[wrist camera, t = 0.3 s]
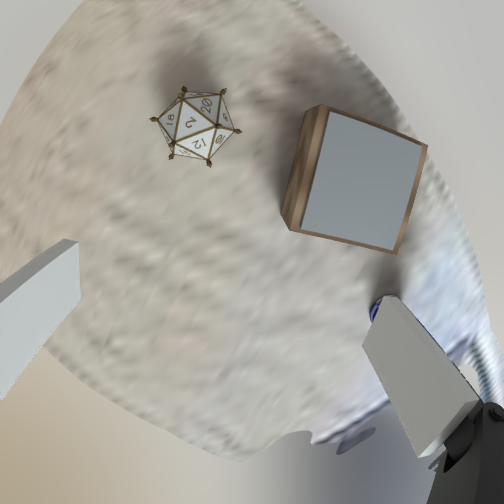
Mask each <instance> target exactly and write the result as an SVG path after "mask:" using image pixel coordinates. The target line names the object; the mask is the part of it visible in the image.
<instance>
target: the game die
mask: <svg viewBox="0 0 504 504" xmlns="http://www.w3.org/2000/svg"><path fill="white" fill-rule="evenodd" d="M226 89H227V88H225V89H222V90H221V91H220V94H216V93H203V92H187V89H186V87H184V86H183V87H182V92H184V93H183V94H181V93H179V95H178V98H177V99H176V100H175V101H174V102H173V103H172V104H171V105H170V106H169V107H168V108H167V109H166V110H165V111H164V112H163V113H162V114H161V115H160V117H159V118H156V117H152V118H150V120H151V121H152V122H153V121H154V122H155V121H157V122H158V124H159V126H160V128H161V130H162V132H163V134H164V137H165V139H166V141H167V143H168V145H169V147H170V149H171V151H172V154H170V155H169V160H170V159H173V157H174V155H180V156H186V157H192V158H197V159H203V160H206V161H207V165H208V166H209V167H210V168H211V165H212V163H211V161H210V158H211V157H212V156H213V155H214V153H215V152H216V151H217V150H218V149H219V148H220V147H221V146H222V144H223V143H224V142H225V141H226V140H227V139H228V138H229V137H230V136H231V135H232V133H233V132H235V133H238V134H239V133H242V131H241V130H240V129H234V127H233V124H232V121H231V119H230V116H229V113H228V111H227V108H226V105H225V102H224V100H223V97H222V95H223V94H225V93H226Z"/></svg>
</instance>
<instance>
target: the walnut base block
mask: <svg viewBox="0 0 504 504" xmlns="http://www.w3.org/2000/svg"><path fill="white" fill-rule="evenodd" d="M427 148H428V145H426V144H424V143H422V142H419V141H417V140H415V139H413V138H411V137H408V136H406V135H404V134H401V133H399V132H397V131H394V130H392V129H389V128H387V127H384V126H382V125H379V124H377V123H374V122H371V121H369V120H366V119H363V118H361V117H358V116H355V115H352V114H349V113H346V112H343V111H340V110H337V109H334V108H331V107H328V106H325V105H321V104H320V105H318V106H316V107H313V108H311V109H309V110H307V111H305V115H304V120H303V124H302V128H301V132H300V137H299V141H298V145H297V149H296V154H295V158H294V162H293V166H292V170H291V174H290V178H289V183H288V187H287V191H286V195H285V199H284V203H283V207H282V211H281V216H282V218H283V220H284V222H285V223H286V225H287V227H288V229H289V231H294V232H299V233H303V234H308V235H312V236H317V237H322V238H326V239H331V240H335V241H339V242H344V243H348V244H353V245H357V246H361V247H366V248H370V249H374V250H378V251H383V252H387V253H391V254H395V255H397V253H398V250H399V247H400V244H401V241H402V238H403V235H404V232H405V229H406V226H407V223H408V220H409V216H410V213H411V210H412V207H413V203H414V200H415V196H416V193H417V189H418V185H419V181H420V178H421V174H422V170H423V165H424V161H425V157H426V153H427Z"/></svg>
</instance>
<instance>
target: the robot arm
mask: <svg viewBox="0 0 504 504" xmlns="http://www.w3.org/2000/svg"><path fill="white" fill-rule="evenodd" d="M80 300H81V292H80V276H79V242H77V241H73V240H68V239H63V240H61V241H60V242H58V243H57V244H55V245H54V246H52V247H51V248H49V249H48V250H46V251H45V252H43V253H42V254H41V255H39V256H38V257H36V258H35V259H33V260H32V261H30V262H29V263H28V264H26V265H25V266H24V267H22V268H21V269H19V270H18V271H17V272H15V273H14V274H13V275H11V276H10V277H9V278H7V279H6V280H5V281H3V282H2V283H1V284H0V400H1V401H2V400H3V399H4V397H5V396H6V395H7V393H8V391H9V390H10V389H11V387H12V386H13V384H14V383H15V382H16V380H17V379H18V377H19V376H20V374H21V373H22V372H23V371H24V369H25V368H26V366H27V365H28V364H29V363H30V361H31V360H32V359H33V357H34V356H35V354H36V353H37V352H38V351H39V349H40V348H41V347H42V346H43V344H44V343H45V342H46V341H47V339H48V338H49V337H50V336H51V334H52V333H53V332H54V331H55V329H56V328H57V327H58V326H59V325H60V323H61V322H62V321H63V320H64V319H65V317H66V316H67V315H68V314H69V313H70V311H71V310H72V309H73V308H74V307H75V306H76V304H77V303H78V302H79V301H80ZM362 347H363V349H364V351H365V352H366V354H367V356H368V358H369V360H370V362H371V364H372V366H373V368H374V370H375V372H376V374H377V375H378V377H379V379H380V381H381V383H382V385H383V387H384V389H385V391H386V393H387V395H388V397H389V399H390V401H391V403H392V405H393V407H394V409H395V411H396V414H397V415H398V418H399V419H400V422H401V424H402V426H403V428H404V430H405V432H406V434H407V437H408V439H409V441H410V443H411V445H412V447H413V450H414V452H415V454H416V456H417V458H419V457H423V456H427V455H431V454H433V453H434V452H435V451H436V450H437V449H438V448H439V447H440V446H441V445H442V444H443V443H444V445H445V447H446V450H445V451H444V452H443V453H442V454H441V455H440V456H439V457H438V458H437V459H436V460H435V461H434V462H433V463H432V464H431V465H430V466H429V469H431V468H433V467H434V466H435V465H436V464H438V467H437V468H436V469H435V470H434V471H436V475H435V479H434V482H433V486H432V489H431V492H430V495H429V498H428V501H427V504H504V409H503V408H502V407H501V406H500V405H498V404H497V403H494V402H487V403H486V404H484V403H483V401H482V400H481V398H480V397H479V396H478V394H477V393H476V392H475V390H474V389H473V388H472V386H471V385H470V384H469V382H468V381H467V380H465V377H464V376H463V374H462V373H460V370H459V369H458V368H457V367H456V365H455V364H454V363H453V362H452V361H451V360H450V359H449V358H448V357H447V356H446V354H445V353H444V352H443V351H442V349H441V348H440V347H439V346H438V344H437V343H436V342H435V341H434V340H433V338H432V337H431V336H430V335H429V333H428V332H427V331H426V330H425V329H424V328H423V326H422V325H421V324H420V323H419V322H418V320H417V319H416V318H415V317H414V316H413V315H412V313H411V312H410V311H409V310H408V309H407V308H406V307H405V305H404V304H403V303H402V302H401V301H400V300H399V299H398V298H397V297H390V296H384V297H383V299H382V302H381V304H380V307H379V309H378V311H377V314H376V316H375V318H374V321H373V323H372V325H371V327H370V330H369V332H368V334H367V336H366V338H365V341H364V343H363V345H362Z"/></svg>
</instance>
